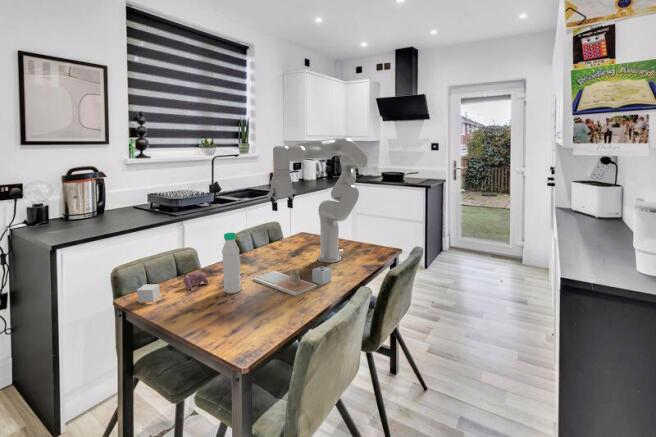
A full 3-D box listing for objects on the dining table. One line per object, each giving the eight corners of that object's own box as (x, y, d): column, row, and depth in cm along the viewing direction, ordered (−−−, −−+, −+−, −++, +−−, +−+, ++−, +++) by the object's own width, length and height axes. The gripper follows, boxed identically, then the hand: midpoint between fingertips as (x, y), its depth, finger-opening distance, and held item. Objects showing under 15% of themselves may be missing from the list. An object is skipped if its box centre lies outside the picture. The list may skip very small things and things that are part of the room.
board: (274, 272, 186) (274, 270, 186) (316, 286, 168) (316, 284, 168) (252, 280, 177) (252, 277, 176) (295, 295, 159) (295, 293, 159)
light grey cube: (160, 298, 157) (159, 284, 156) (153, 304, 151) (152, 289, 150) (145, 298, 157) (144, 284, 156) (138, 304, 151) (137, 289, 150)
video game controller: (205, 285, 174) (199, 271, 175) (210, 283, 171) (205, 268, 172) (185, 292, 167) (180, 277, 167) (190, 290, 164) (185, 274, 164)
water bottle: (224, 294, 160) (220, 236, 155) (224, 288, 167) (220, 232, 162) (241, 293, 162) (239, 234, 157) (240, 286, 169) (238, 230, 164)
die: (321, 278, 179) (321, 265, 178) (331, 281, 175) (331, 268, 174) (312, 281, 175) (312, 268, 174) (322, 285, 171) (322, 271, 170)
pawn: (295, 281, 171) (294, 266, 169) (301, 284, 168) (301, 269, 166) (287, 284, 168) (287, 269, 166) (294, 287, 165) (293, 271, 163)
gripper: (289, 171, 189) (290, 206, 193) (261, 173, 176) (263, 211, 180) (300, 172, 184) (301, 207, 188) (272, 174, 172) (273, 212, 175)
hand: (282, 209), depth 184 cm, fingers open, 9 cm apart
